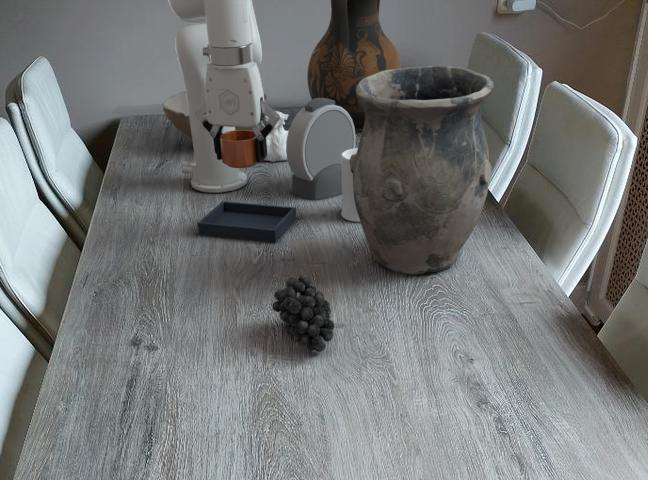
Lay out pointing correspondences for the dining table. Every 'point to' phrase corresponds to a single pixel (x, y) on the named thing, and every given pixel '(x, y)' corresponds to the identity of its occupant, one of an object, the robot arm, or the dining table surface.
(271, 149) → the bust
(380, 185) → the clay pot
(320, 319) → the fruit
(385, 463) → the dining table surface
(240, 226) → the tray
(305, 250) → the dining table surface
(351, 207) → the mug
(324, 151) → the alarm clock
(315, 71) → the vase
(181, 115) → the bowl
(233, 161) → the small bowl
